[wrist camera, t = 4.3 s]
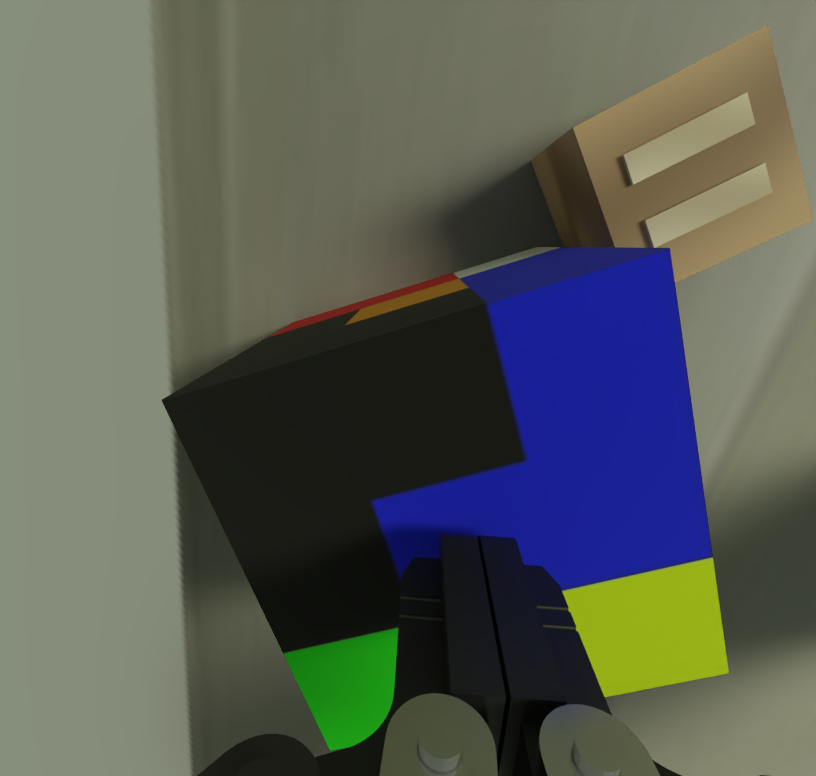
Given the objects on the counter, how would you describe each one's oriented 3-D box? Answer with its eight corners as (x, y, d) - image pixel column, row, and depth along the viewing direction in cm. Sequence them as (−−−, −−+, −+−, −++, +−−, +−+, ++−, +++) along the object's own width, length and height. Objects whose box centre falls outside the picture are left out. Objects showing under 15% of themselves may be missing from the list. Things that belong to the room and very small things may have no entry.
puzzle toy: (536, 247, 18) (669, 247, 8) (585, 473, 20) (729, 673, 11) (293, 321, 19) (161, 399, 9) (371, 526, 22) (330, 751, 12)
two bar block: (705, 227, 17) (817, 219, 12) (578, 287, 18) (636, 302, 13) (665, 90, 16) (771, 22, 11) (530, 161, 17) (574, 126, 12)
